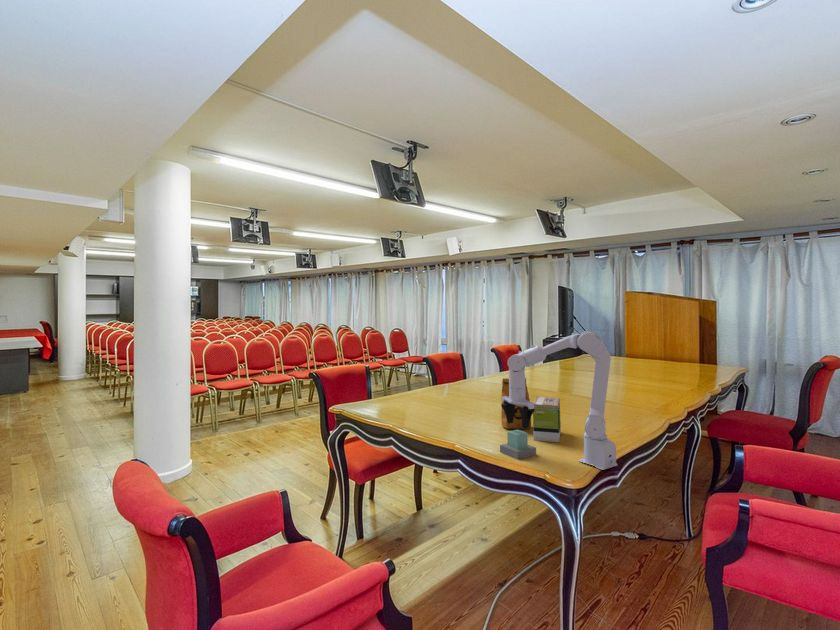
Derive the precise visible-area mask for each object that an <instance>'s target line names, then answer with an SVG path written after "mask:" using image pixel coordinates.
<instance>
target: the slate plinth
mask: <svg viewBox="0 0 840 630" xmlns="http://www.w3.org/2000/svg"><path fill="white" fill-rule="evenodd" d="M499 453H501V454H504V455H506V456H508V457H511V458H514V459H516V460H520V459H525V458H529V457H532V456H536V455H537V447H536V446H533V445H530V444H528V447H525V448H521V449H515V448H513V447H510V446H508V442H507V443H503V444H500V445H499Z"/></svg>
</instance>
